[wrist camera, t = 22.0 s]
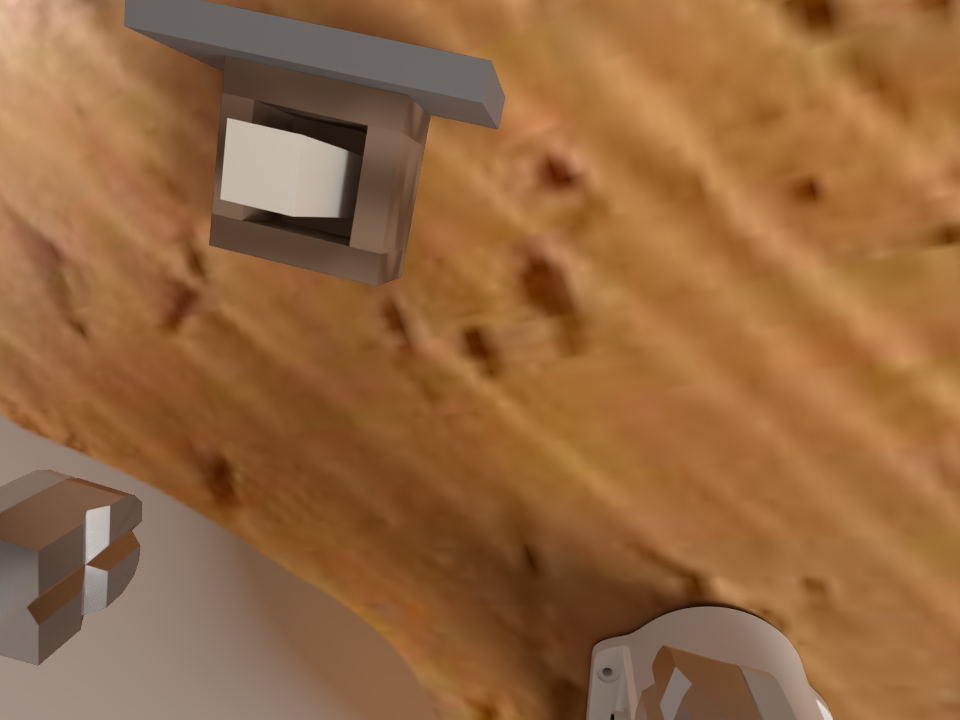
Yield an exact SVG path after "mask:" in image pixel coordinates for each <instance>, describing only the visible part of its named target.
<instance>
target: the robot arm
mask: <svg viewBox="0 0 960 720" xmlns="http://www.w3.org/2000/svg"><path fill="white" fill-rule="evenodd" d="M141 521H142V502H141V501H140V500H139V499H138V498H137V497H136V496H135V495H132V494H128V493H125V492H122V491H118V490H115V489H112V488H109V487H105V486H102V485H99V484H96V483H92V482H89V481H86V480H83V479H79V478H74V477H72V476H69V475H65V474H62V473H58V472H55V471H52V470H36V471H33V472H31V473H29V474H27V475H25V476H23V477H20V478H18V479H16V480H14V481H12V482H10V483H8V484H6V485H3V486H1V487H0V655H2V656H5V657H9V658H12V659H16V660H20V661H23V662H27V663H31V664H34V665H40V664H41V663H42V662H43V661H44V660H45V659H47V658H48V657H49V656H50V655H51V654H52V653H54V652H55V651H56V650H57V649H58V648H60V647H61V646H62V645H63V644H64V643H65V642H67V641H68V640H69V639H70V638H71V637H72V636H73V635H75V634H76V633H77V632H78V631H80V630H81V625H82V620H83V616H84V615H87V614H89V613H92V612H95V611H98V610H101V609H104V608H106V607H107V606H108V605H110V604H111V603H112V602H113V601H114V600H115V599H116V598H117V597H119V596H120V595H121V594H122V592H123V591H124V590H125V588H126V587H127V585H128V584H129V582H130V580H131V579H132V578H133V576H134V574H135V571H136V568H137V565H138V562H139V555H140V544H139V543H138V541H137V539H136V537H135V535H134V534H133V532H132V530H133V529H134V528H135V527H136V526H137V525H138V524H139V523H140V522H141ZM604 668H610V669H608V670H606V669H604ZM586 720H833V718H832V716H831V713H830V711H829V709H828V706H827V704H826V703H825V701H824V700H823V699H822V698H821V697H820V696H819V695H818V694H817V692H816V691H815V690H814V689H813V688H812V687H811V686H810V685H809V683H808V681H807V678H806V675H805V672H804V669H803V665H802V663H801V660H800V658H799V656H798V654H797V652H796V650H795V649H794V647H793V646H792V644H791V643H790V642H789V641H788V639H787V638H786V637H785V636H784V635H783V634H782V633H781V632H779V631H778V630H777V629H776V628H774V627H773V626H772V625H770V624H768V623H767V622H765V621H763V620H761V619H760V618H758V617H755V616H753V615H750V614H748V613H745V612H742V611H738V610H734V609H729V608H722V607H693V608H686V609H681V610H677V611H674V612H671V613H668V614H665V615H663V616H661V617H658V618H656V619H655V620H653V621H651V622H649V623H648V624H646V625H645V626H643V627H642V628H640V629H639V630H637V631H635V632H633V633H631V634H629V635H624V636H619V637H614V638H610V639H606V640H603V641H601V642H599V643H597V644H596V645H595V646H594V648H593V651H592V659H591V670H590V680H589V691H588V702H587V713H586Z"/></svg>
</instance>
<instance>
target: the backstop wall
mask: <svg viewBox="0 0 960 720" xmlns="http://www.w3.org/2000/svg"><path fill="white" fill-rule="evenodd" d="M124 26H126V27H128V28H130V29H132V30H134V31H136V32H139V33H141V34H143V35H145V36H147V37H149V38H152V39H154V40H156V41H158V42H160V43H162V44H165V45H167V46H169V47H171V48H173V49H175V50H178V51H180V52H182V53H184V54H186V55H188V56H191V57H193V58H195V59H197V60H199V61H201V62H204V63H206V64H208V65H210V66H212V67H215V68H220V69H224V64H225V56H230V57H234V58H239V59H243V60H248V61H253V62H257V63H262V64H266V65H271V66H275V67H280V68H285V69H289V70H294V71H298V72H303V73H307V74H312V75H317V76H321V77H326V78H330V79H335V80H340V81H344V82H349V83H353V84H358V85H362V86H367V87H372V88H376V89H381V90H385V91H390V92H395V93H399V94H404V95H408V96H409V97H410V98H411V99H412V100H414V101H415V102H416V103H417V104H418V105H419V106H420V107H421V108H423V109H424V110H425V111H426V112H427V113H428V114H430V115H435V116H439V117H444V118H449V119H453V120H458V121H462V122H467V123H471V124H476V125H481V126H485V127H490V128H494V129H498V127H499V123H500V118H501V113H502V109H503V104H504V99H505V95H504V93H503V90H502V87H501V85H500V82H499V80H498V77H497V74H496V72H495V69H494V67H493V64H492V61H490V60H485V59H480V58H476V57H471V56H466V55H461V54H457V53H452V52H447V51H442V50H437V49H433V48H428V47H423V46H418V45H414V44H409V43H404V42H399V41H394V40H390V39H385V38H380V37H375V36H371V35H366V34H361V33H356V32H352V31H347V30H342V29H337V28H332V27H328V26H323V25H318V24H313V23H309V22H304V21H299V20H294V19H289V18H285V17H280V16H275V15H270V14H266V13H261V12H256V11H251V10H246V9H242V8H237V7H232V6H227V5H223V4H218V3H213V2H208V1H203V0H125V20H124Z"/></svg>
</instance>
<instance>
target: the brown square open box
mask: <svg viewBox="0 0 960 720" xmlns="http://www.w3.org/2000/svg"><path fill="white" fill-rule="evenodd" d="M430 116H431V115H429V114H428V113H427V112H426V111H425V110H424V109H423V108H421V107H420V106H419V105H418V104H417V103H416V102H415V101H414V100H412V99H411V98H410V97H409V96H408V95H404V94H399V93H395V92H390V91H385V90H381V89H376V88H372V87H367V86H362V85H358V84H353V83H349V82H344V81H340V80H335V79H330V78H326V77H321V76H317V75H312V74H307V73H303V72H298V71H294V70H289V69H285V68H280V67H275V66H271V65H266V64H262V63H257V62H253V61H248V60H243V59H239V58H234V57H230V56H225V64H224V76H223V88H222V99H221V111H220V123H219V135H218V147H217V159H216V170H215V182H214V194H213V206H212V218H211V229H210V241H209V245H210V246H214V247H218V248H222V249H226V250H230V251H234V252H239V253H243V254H247V255H251V256H255V257H259V258H263V259H267V260H271V261H275V262H279V263H283V264H287V265H291V266H296V267H300V268H304V269H308V270H312V271H316V272H320V273H324V274H328V275H332V276H336V277H340V278H344V279H348V280H353V281H357V282H361V283H365V284H369V285H373V286H377V285H380V284H383V283H386V282H389V281H391V280H394V279H397V278H400V277H401V275H402V270H403V264H404V259H405V253H406V248H407V242H408V237H409V231H410V226H411V220H412V215H413V209H414V204H415V198H416V193H417V187H418V182H419V176H420V171H421V165H422V160H423V154H424V149H425V143H426V138H427V132H428V127H429V121H430ZM227 118H230V119H235V120H239V121H243V122H248V123H252V124H257V125H261V126H265V127H270V128H274V129H279V130H283V131H287V132H292V133H296V134H301V135H304V136H307V137H310V138H313V139H316V140H319V141H321V142H324V143H327V144H330V145H333V146H336V147H339V148H341V149H344V150H347V151H350V152H353V153H356V154H359V155H362V156H363V162H362V168H361V175H360V181H359V188H358V194H357V201H356V207H355V214H354V218H337V217H293V216H289V215H284V214H280V213H276V212H272V211H268V210H263V209H259V208H255V207H251V206H247V205H243V204H238V203H234V202H230V201H226V200H222V199H220V197H221V185H222V174H223V162H224V151H225V139H226V128H227Z"/></svg>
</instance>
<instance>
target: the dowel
mask: <svg viewBox="0 0 960 720" xmlns="http://www.w3.org/2000/svg"><path fill="white" fill-rule="evenodd" d="M362 162H363V156H362V155H359V154H356V153H353V152H350V151H347V150H344V149H341V148H339V147H336V146H333V145H330V144H327V143H324V142H321V141H319V140H316V139H313V138H310V137H307V136H304V135H301V134H296V133H292V132H287V131H283V130H279V129H274V128H270V127H265V126H261V125H257V124H252V123H248V122H243V121H239V120H235V119H230V118H227V128H226V139H225V151H224V162H223V174H222V185H221V197H220V199H222V200H226V201H230V202H234V203H238V204H243V205H247V206H251V207H255V208H259V209H263V210H268V211H272V212H276V213H280V214H284V215H289V216H293V217H337V218H354V214H355V207H356V201H357V194H358V188H359V181H360V175H361V168H362Z"/></svg>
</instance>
